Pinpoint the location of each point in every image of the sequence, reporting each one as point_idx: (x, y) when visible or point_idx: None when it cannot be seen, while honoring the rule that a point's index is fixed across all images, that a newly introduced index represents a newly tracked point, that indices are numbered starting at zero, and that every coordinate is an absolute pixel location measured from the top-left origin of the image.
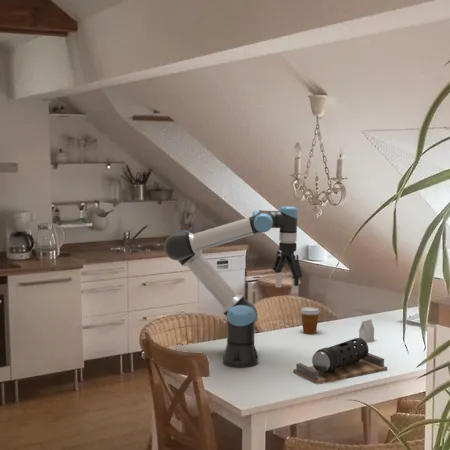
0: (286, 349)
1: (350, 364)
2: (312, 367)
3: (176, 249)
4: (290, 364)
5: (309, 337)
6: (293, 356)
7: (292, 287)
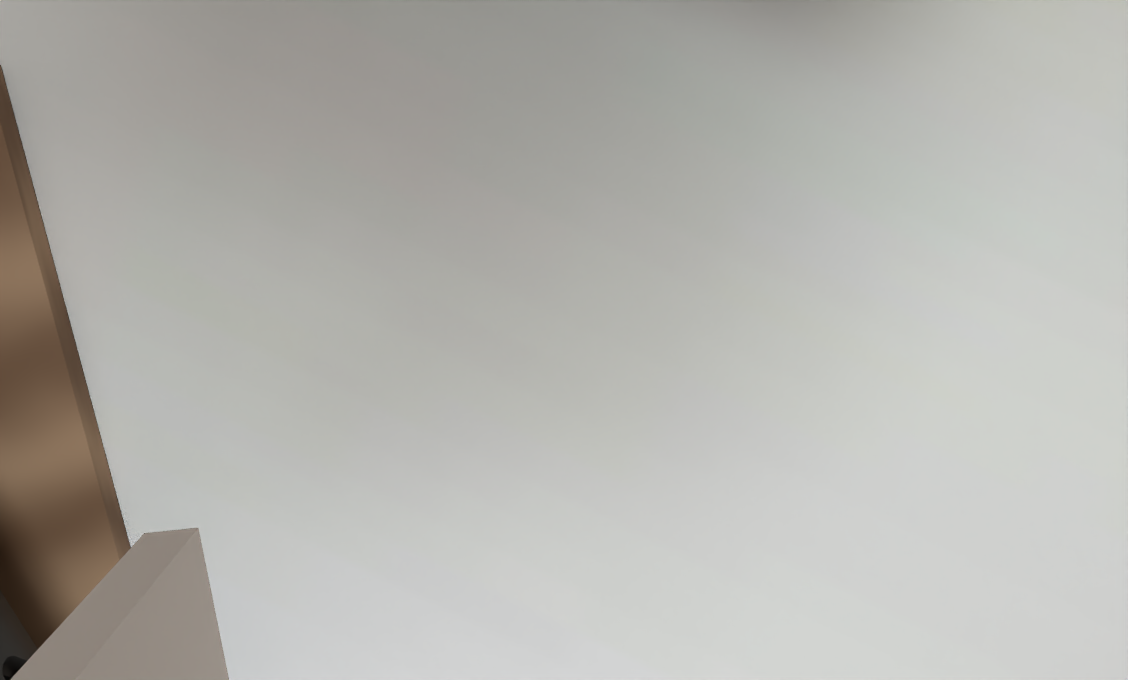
0: (770, 353)
1: None
2: (7, 289)
3: None
4: (264, 158)
5: None
6: (513, 312)
7: (87, 621)
